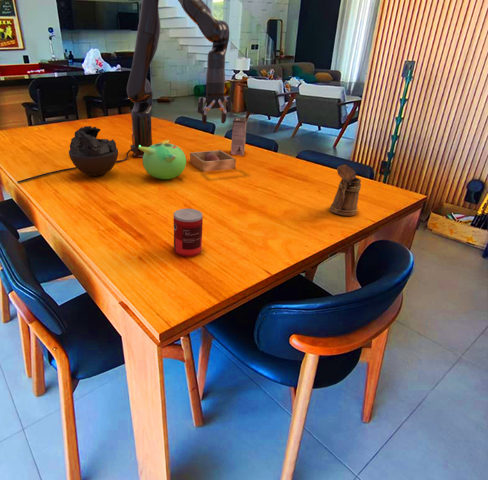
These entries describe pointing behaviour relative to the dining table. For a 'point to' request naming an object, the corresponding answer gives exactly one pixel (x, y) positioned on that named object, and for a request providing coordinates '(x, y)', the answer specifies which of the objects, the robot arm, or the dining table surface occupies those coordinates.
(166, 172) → the toy bird
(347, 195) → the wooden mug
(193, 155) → the brown wooden tray
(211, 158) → the sweet potato
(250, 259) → the dining table surface
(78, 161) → the coal bowl
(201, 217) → the canned food
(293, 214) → the dining table surface
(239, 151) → the coffee box
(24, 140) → the dining table surface
